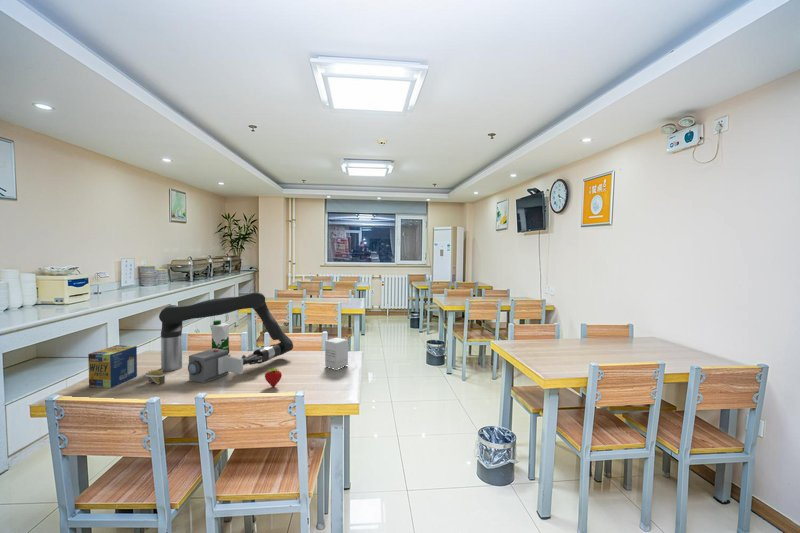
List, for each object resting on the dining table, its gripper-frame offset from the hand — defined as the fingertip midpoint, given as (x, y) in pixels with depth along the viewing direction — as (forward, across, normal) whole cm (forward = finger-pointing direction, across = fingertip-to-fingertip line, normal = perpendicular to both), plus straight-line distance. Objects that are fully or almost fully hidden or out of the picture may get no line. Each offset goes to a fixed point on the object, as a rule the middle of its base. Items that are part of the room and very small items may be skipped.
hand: (238, 364), depth 170 cm
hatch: (+1, -3, +5) cm, 6 cm away
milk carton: (-27, -42, +7) cm, 50 cm away
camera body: (+6, -14, +7) cm, 17 cm away
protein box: (+26, -50, +7) cm, 57 cm away
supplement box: (-32, +36, +7) cm, 49 cm away
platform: (+20, -30, +8) cm, 37 cm away
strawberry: (+3, +23, +7) cm, 25 cm away
